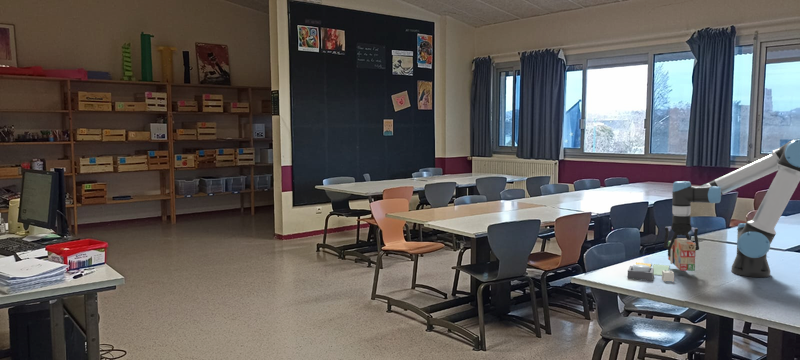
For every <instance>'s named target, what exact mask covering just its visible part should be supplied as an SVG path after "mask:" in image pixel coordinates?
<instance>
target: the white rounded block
mask: <svg viewBox="0 0 800 360" xmlns="http://www.w3.org/2000/svg"><path fill="white" fill-rule="evenodd" d="M635 264H636V263H635ZM635 264H633V265H632V266H633V269H632V270H633V271H643V272H649V270H650V268H651V267H649V266H647V265H640V264H636V265H635Z"/></svg>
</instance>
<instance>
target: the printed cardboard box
mask: <svg viewBox="0 0 800 360" xmlns="http://www.w3.org/2000/svg"><path fill="white" fill-rule="evenodd" d="M670 242H671V240H668V241H667V246H669V244H670ZM671 249H673V263H672V265H674V266H675V267H676V268H677V269H678V270H679V271H691V272H693V271H694V272H695V271H696V251H697V250H696V244H695V241H693V240H692V239H691V240H687V238H686V237H685V238H678V237H676V239H674V243H673V245H672V247H671ZM695 250H696V251H695ZM667 257H668V258H667V259H668V260H669V262H671V257H669V256H668V255H667Z"/></svg>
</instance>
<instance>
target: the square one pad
mask: <svg viewBox="0 0 800 360" xmlns="http://www.w3.org/2000/svg"><path fill="white" fill-rule="evenodd" d="M652 265H653V266H652V268H654V276H660V275H661V277H662V270H666V271H670V267H669V266H670V265H666V264H652Z"/></svg>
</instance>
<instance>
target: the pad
mask: <svg viewBox="0 0 800 360" xmlns="http://www.w3.org/2000/svg"><path fill="white" fill-rule="evenodd" d="M635 264H640V265H647V266H649V267H650V268H652V265H651V264H652V263H646V262H645V263H643V262H635Z"/></svg>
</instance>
